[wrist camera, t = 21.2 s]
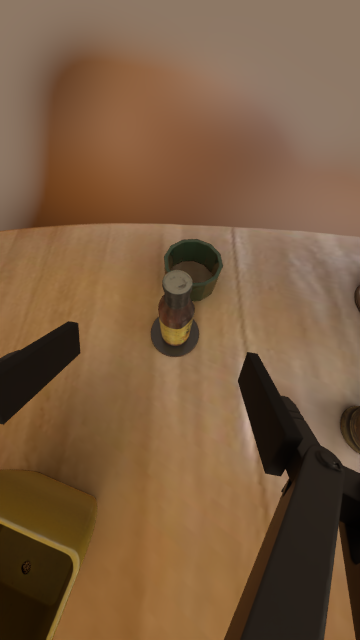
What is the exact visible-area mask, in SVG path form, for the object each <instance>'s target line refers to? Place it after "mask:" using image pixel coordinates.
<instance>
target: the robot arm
mask: <svg viewBox="0 0 360 640" xmlns="http://www.w3.org/2000/svg"><path fill="white" fill-rule="evenodd" d="M355 301H356V304H357V307H358V309H359V310H360V286H359V287H358V288H357V290H356V292H355ZM79 354H80V342H79V328H78V323H75V322H69V321H68V322H67V323H65V324H63V325H62V326H60V327H58V328H57V329H55V330H53V331H52V332H50V333H48V334H47V335H45V336H43V337H42V338H40V339H38V340H37V341H35V342H33V343H32V344H30V345H28V346H27V347H25V348H23V349H22V350H17V351H15V352H12V353H9V354H7V355H5V356H3V357H2V358H0V424H3V425H4V424H5V423H6V422H7V421H8V420H9V419H10V418H11V417H12V416H13V415H15V414H16V413H17V412H18V411H19V410H20V409H21V408H22V407H23V406H24V405H25V404H26V403H27V402H28V401H30V400H31V399H32V398H33V397H34V396H35V395H36V394H37V393H38V392H39V391H40V390H41V389H42V388H43V387H45V386H46V385H47V384H48V383H49V382H50V381H51V380H52V379H53V378H54V377H55V376H56V375H57V374H59V373H60V372H61V371H62V370H63V369H64V368H65V367H66V366H67V365H68V364H69V363H70V362H71V361H72V360H74V359H75V358H76V357H77V356H78V355H79ZM238 383H239V387H240V390H241V393H242V397H243V400H244V404H245V407H246V410H247V414H248V417H249V420H250V424H251V427H252V431H253V434H254V437H255V441H256V444H257V448H258V451H259V454H260V458H261V461H262V464H263V468H264V471H265V473H266V474H271V475H276V476H281V475H282V474H283V472H284V470H285V469H286V471H287V474H288V476H289V479H288V481H287V483H286V484H285V486H284V487H283V489H282V491H281V492H283V493H282V496H281V498H280V501H279V503H278V506H277V508H276V511H275V513H274V516H273V518H272V521H271V523H270V526H269V528H268V531H267V533H266V536H265V538H264V541H263V543H262V546H261V548H260V551H259V553H258V556H257V558H256V561H255V563H254V566H253V568H252V571H251V573H250V576H249V578H248V581H247V583H246V586H245V588H244V591H243V593H242V596H241V598H240V601H239V603H238V606H237V608H236V611H235V613H234V616H233V618H232V621H231V623H230V626H229V628H228V631H227V633H226V636H225V638H224V640H324V634H325V626H326V619H327V611H328V603H329V595H330V587H331V580H332V572H333V564H334V556H335V548H336V541H337V533H338V525H339V531H340V537H341V544H342V551H343V557H344V564H345V571H346V577H347V584H348V591H349V597H350V604H351V610H352V617H353V624H354V630H355V637H356V640H360V473H358V472H356V471H354V470H351V469H349V468H347V467H345V466H343V465H342V463H341V461H340V460H339V459H338V458H337V457H336V456H335V455H334V454H333V453H332V452H330V451H329V450H328V449H326V448H324V447H322V446H320V444H319V442H318V441H317V439H316V437H315V436H314V434H313V433H312V431H311V429H310V428H309V426H308V424H307V423H306V421H305V420H304V418H303V416H302V415H301V414H300V411H299V410H298V408H297V406H296V405H295V404H294V403H293V402H292V401H291V400H290V399H289V398H288V397H285V396H280V394H279V392H278V390H277V388H276V387H275V385H274V383H273V381H272V379H271V377H270V376H269V374H268V372H267V370H266V368H265V367H264V365H263V363H262V361H261V359H260V357H259V356H258V354H256V353H250V352H247V355H246V358H245V361H244V364H243V367H242V370H241V373H240V376H239V379H238Z"/></svg>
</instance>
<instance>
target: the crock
mask: <svg viewBox="0 0 360 640" xmlns="http://www.w3.org/2000/svg"><path fill="white" fill-rule="evenodd" d="M182 261H195V262H198V263H200V264H203V265H205V267H206V268H207V269H208V270H209V271H210V272H211V274H212V278H210V279H209V280H207V281H205V282H200V283H193V284H192V291H191V293H190V299H191V301H201V300H202V299H204V298H205V297H207V296H209V295H210V294H212V291H213V289H214V287H215V285H216V282H217V280H218V277H219V275H220V272H221V270H222V267H223V264H222V260H221V255H220V253H219V252H218V251H217V250H216V249H215V248H214V247H213V246H212V245H211V244H209V243H206V242H204V241H201V240H198V239H188V240H181V241H179V242H177V243H175V244H173V245H171V246H170V248H169V250H168V251H167V253H166V254H165V256H164V264H165V275H166V274H167V273H168V272H170V271H171V269H172V268H173V266H175V265H177V264H179V263H180V262H182Z"/></svg>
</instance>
